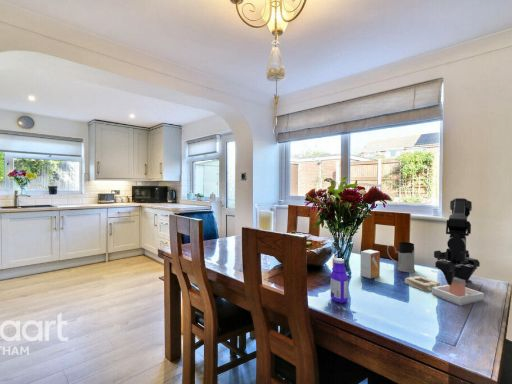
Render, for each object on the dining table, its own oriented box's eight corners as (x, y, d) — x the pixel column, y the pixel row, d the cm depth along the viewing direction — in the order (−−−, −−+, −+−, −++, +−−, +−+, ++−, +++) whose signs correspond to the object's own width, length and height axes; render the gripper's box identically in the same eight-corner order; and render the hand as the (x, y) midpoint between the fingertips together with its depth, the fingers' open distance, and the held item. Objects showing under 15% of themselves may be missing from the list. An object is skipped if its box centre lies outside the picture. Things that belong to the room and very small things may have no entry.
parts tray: (454, 290, 125) (454, 283, 125) (484, 300, 113) (484, 293, 113) (431, 294, 120) (431, 287, 120) (459, 305, 109) (459, 297, 109)
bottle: (350, 302, 113) (350, 260, 112) (340, 305, 110) (340, 262, 110) (338, 296, 119) (338, 256, 119) (327, 298, 117) (327, 257, 116)
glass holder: (416, 273, 149) (417, 245, 149) (388, 270, 154) (388, 243, 154) (413, 268, 158) (413, 242, 157) (386, 266, 162) (386, 240, 162)
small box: (370, 278, 141) (370, 253, 140) (360, 275, 146) (360, 251, 146) (380, 276, 145) (380, 251, 145) (369, 272, 150) (369, 249, 150)
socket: (419, 280, 137) (419, 275, 137) (440, 288, 127) (440, 283, 127) (405, 283, 134) (405, 278, 134) (425, 291, 124) (425, 285, 124)
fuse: (454, 292, 120) (454, 276, 119) (465, 296, 115) (465, 280, 115) (449, 293, 119) (449, 277, 118) (459, 297, 114) (460, 281, 114)
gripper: (454, 241, 127) (454, 275, 127) (423, 245, 121) (423, 280, 121) (480, 247, 116) (480, 283, 117) (448, 250, 111) (448, 289, 111)
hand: (457, 283), depth 117 cm, fingers open, 9 cm apart
